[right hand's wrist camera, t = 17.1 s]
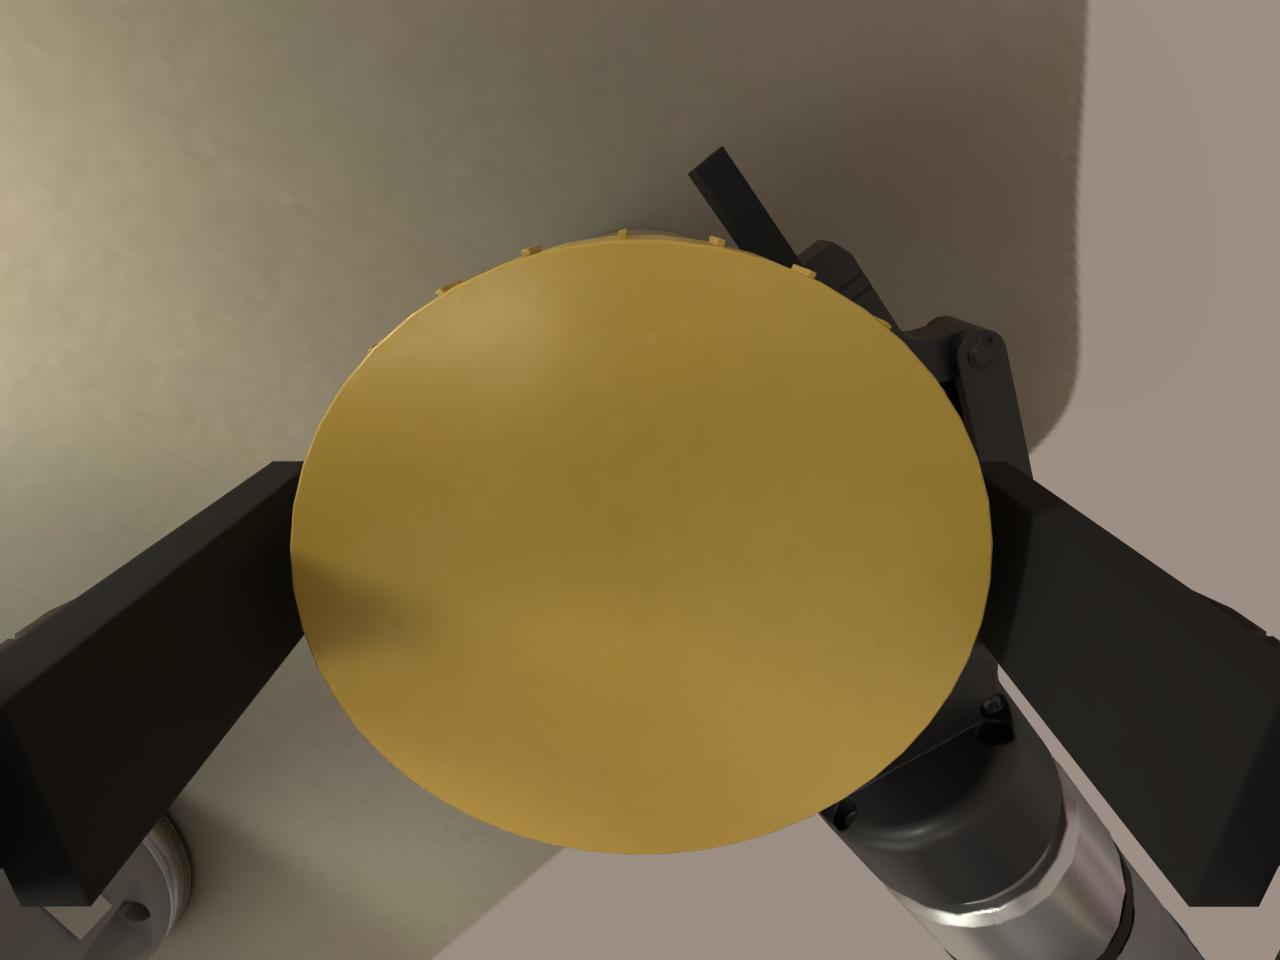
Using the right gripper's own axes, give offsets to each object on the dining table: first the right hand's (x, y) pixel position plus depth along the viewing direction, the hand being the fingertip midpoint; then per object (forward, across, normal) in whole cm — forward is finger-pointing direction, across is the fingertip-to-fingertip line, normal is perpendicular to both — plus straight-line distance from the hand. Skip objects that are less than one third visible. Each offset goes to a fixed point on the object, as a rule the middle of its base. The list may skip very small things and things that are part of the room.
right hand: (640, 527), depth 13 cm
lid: (-2, 0, 0) cm, 2 cm away
